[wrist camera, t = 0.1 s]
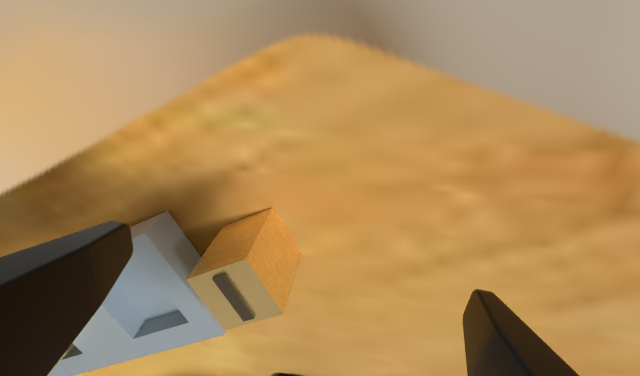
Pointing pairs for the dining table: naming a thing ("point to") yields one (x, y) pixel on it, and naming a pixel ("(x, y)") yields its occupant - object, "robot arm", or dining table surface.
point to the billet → (247, 270)
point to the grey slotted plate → (145, 304)
